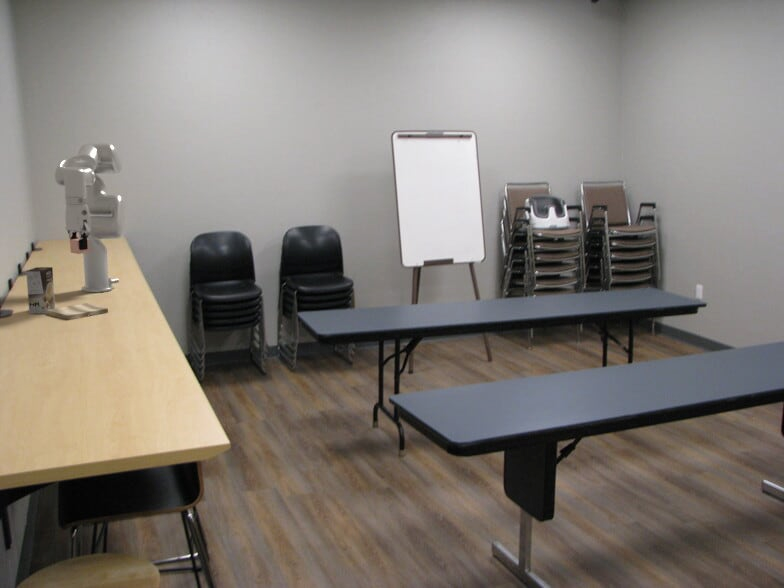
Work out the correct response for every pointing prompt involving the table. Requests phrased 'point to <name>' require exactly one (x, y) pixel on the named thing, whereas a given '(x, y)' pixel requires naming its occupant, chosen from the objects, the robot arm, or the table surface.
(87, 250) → the coral cube
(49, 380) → the table surface
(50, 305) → the coffee box
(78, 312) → the birch board
